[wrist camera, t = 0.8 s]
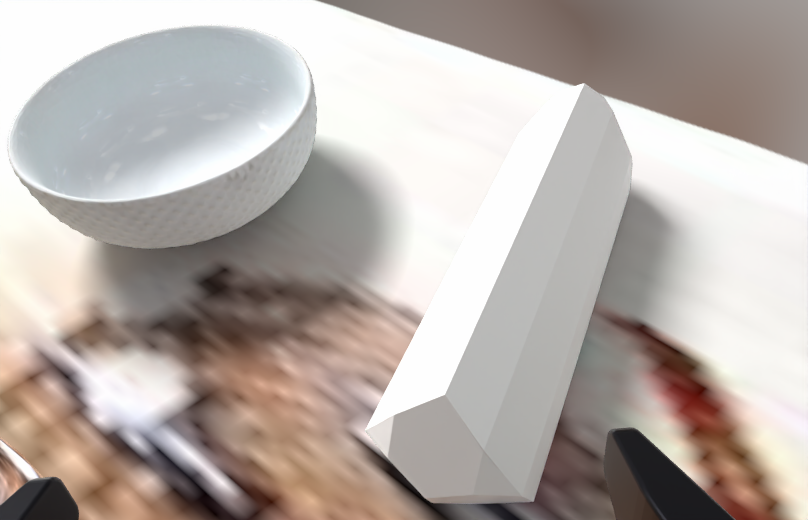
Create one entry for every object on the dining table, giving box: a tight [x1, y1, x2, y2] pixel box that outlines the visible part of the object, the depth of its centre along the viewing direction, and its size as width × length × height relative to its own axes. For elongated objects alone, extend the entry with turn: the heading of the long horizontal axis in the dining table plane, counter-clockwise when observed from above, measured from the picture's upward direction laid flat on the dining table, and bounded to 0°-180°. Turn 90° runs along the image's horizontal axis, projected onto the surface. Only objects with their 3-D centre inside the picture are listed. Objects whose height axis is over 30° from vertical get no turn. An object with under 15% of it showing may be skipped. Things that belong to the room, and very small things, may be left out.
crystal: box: [365, 84, 632, 504], centre depth 29 cm, size 7×7×24 cm
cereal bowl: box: [7, 25, 317, 249], centre depth 36 cm, size 17×17×7 cm
